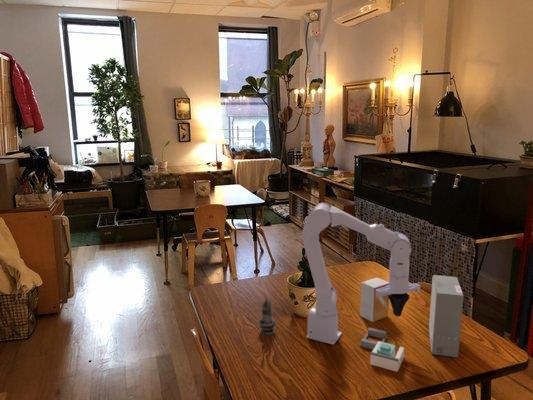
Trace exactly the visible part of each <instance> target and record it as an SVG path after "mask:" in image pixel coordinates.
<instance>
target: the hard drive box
mask: <svg viewBox="0 0 533 400" xmlns="http://www.w3.org/2000/svg"><path fill="white" fill-rule="evenodd" d="M431 279H432V280H431V295H430V306H429V307H430V309H429V322H428V323H429V325H428V332H429V333H428V334H429V342H430V349H431V350H430V351H431V352H430V353H431V354H433V355H435V356H443V357H444V356H446V357H450V358H459V352H460V341H461V329H462V328H461V327H462V318H463V306H464V305H463V304H464V298H465V297H464V294H463V289H462V287H461V285H460V282H459V279H458V277H456V276H449V275H440V274H439V275H438V274H437V275H436V274H433V275H432V278H431Z"/></svg>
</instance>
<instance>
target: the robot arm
mask: <svg viewBox="0 0 533 400" xmlns="http://www.w3.org/2000/svg"><path fill="white" fill-rule="evenodd" d="M330 224H331V226H330V227H331V228H333V227H337V226H343V227H346V228H349V229H350V230H353V231H356V232H357V233H359V234H362V235H365V237H366V239H367V241H368V242H369V243H370V242H371V243H372V244H374V245H377V246H378V247H381V248H383V249H384V250H389V251H390V258H389V269H388V270H389V271H388V273H389V274H388V282H389V285H387V286H385V287H382V288H380V289H376V296H377V297H379V298H380V297H382V296H386V295H387V296H388V298H389V303H390V306H391V308H392V313H393V315H394V316H395V317H396V318H397V317H401V315H402V313H403V311H404V307H405V305H406V304H407V302H408V301H409V299H410V295H409V293H410V292H421V285H420V284H419V283H417V282H416V283H415V282H414V283H409V277H410V276H409V275H410V254H411V253H412V250H413V249H412V246H411V242H410V239H409V238H408V237H407V235H405V234H404V233H403V232H398V231H393V230H391V229H388V228H386V227H385V225H384V224H382V223H379V224H377V223H372V224H369V223H367V222H365V221H363V220H361V219H359V218H357V217H356V216H353V215H352V214H350V213H348V212H345V211H343V210H342V209H340V208H338V207H336V206H333V205H330V204H328V203H326V202H320V203H317V204H316V205H315V206H314V207H313V208H312V210H311V211H310V213H309V214H308V216H307V218H306V220H305V222H304V226H303V228H302V231H301V234H300V235H301V238H302V243H303V247H304V250H305V254H306V257H307V261H308V265H309V269H310V272H311V277H312V279H313V283H314V288H315V289H314V290H315V291H314V292H315V293H314V294H315V300H316V301H315V307H311V309H309V312H308V315H307V335H306V339H310V340H314V341H318V342H320V343H321V342H322V343H324V344H325V343H326V344H329V345H335V344H336V342H337V341H338V340H339V338H340V337H341V336H342V334H343V332H342V331H339V329H338V328H339V323H338V322H339V309H338V308H337V300H338V298H339V296H338V292H337V290H336V289H335V288H334V287H333V284H332V282H331V280H330V278H329V274H328V270H327V266H326V261H325V259H324V254H323V251H322V247H321V244H320V240H319V235H320V234H321V232H322V231H324V230H325V229H326V228H328V227H329V225H330Z"/></svg>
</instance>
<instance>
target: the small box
mask: <svg viewBox="0 0 533 400" xmlns="http://www.w3.org/2000/svg"><path fill="white" fill-rule="evenodd" d="M360 283H361V285H360V289H361V290H360V312H359V313H360V314H359V316H360V317H362V318H364V319H366V320H368V321H370V322H372V323H375V322H377V321H379V320H382V319H384V318H388V317H389V307H390V304H389V303H390V300H389V298H388V296H387V295H386V296H382V297H380V298H379V297H377V296H376V289H380V288H382V287H385V286H387V285H389V281H386V280H384V279H382V278H379V277H375V278H374V277H373V278H370V279H368V280H365V281H361V282H360Z"/></svg>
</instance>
